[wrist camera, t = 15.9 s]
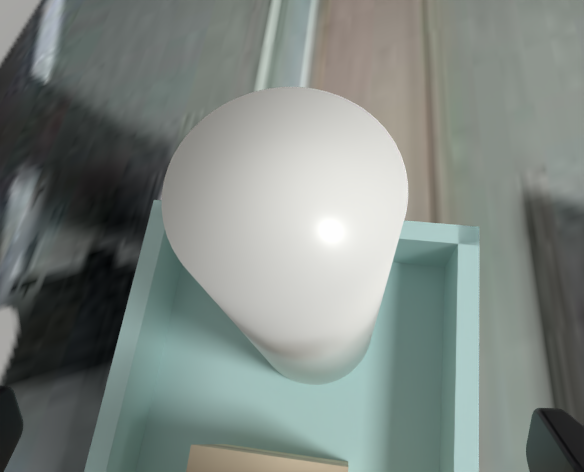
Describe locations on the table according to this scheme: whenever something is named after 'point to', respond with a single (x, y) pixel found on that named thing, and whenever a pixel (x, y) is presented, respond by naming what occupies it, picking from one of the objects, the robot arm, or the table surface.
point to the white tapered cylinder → (290, 223)
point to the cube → (256, 460)
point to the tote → (290, 394)
